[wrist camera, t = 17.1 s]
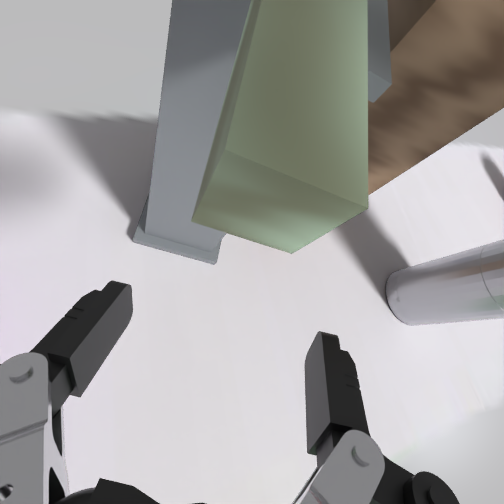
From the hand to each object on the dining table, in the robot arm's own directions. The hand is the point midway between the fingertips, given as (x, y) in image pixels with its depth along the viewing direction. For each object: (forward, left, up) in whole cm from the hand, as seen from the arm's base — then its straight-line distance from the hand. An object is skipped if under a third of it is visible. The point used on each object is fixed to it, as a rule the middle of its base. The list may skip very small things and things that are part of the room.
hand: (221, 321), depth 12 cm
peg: (+1, -12, +6) cm, 14 cm away
